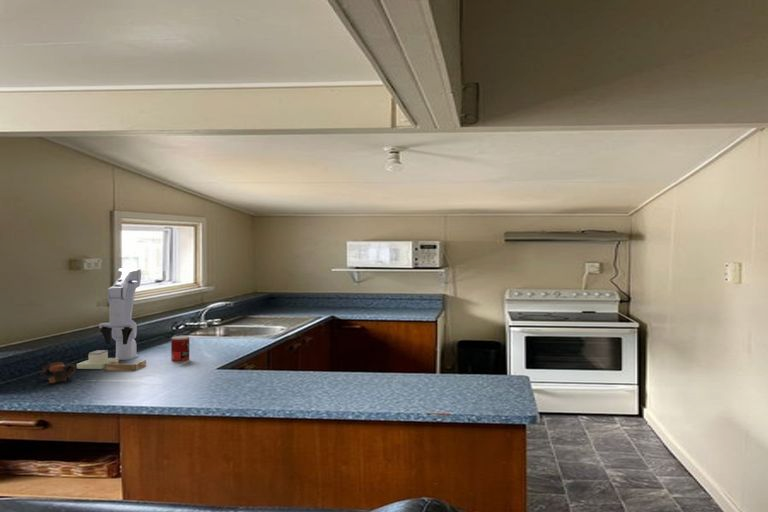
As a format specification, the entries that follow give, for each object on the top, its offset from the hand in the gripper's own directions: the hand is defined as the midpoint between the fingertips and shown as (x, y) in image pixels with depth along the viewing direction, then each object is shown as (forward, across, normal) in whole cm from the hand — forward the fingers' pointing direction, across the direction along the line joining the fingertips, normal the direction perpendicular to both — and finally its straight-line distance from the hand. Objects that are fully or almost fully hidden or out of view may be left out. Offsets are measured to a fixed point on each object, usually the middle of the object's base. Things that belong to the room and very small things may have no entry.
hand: (116, 344), depth 228 cm
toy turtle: (+10, -8, -27) cm, 30 cm away
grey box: (+9, -6, -3) cm, 11 cm away
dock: (+9, +8, -7) cm, 14 cm away
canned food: (+10, +24, +11) cm, 28 cm away
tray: (+9, -6, -3) cm, 12 cm away
